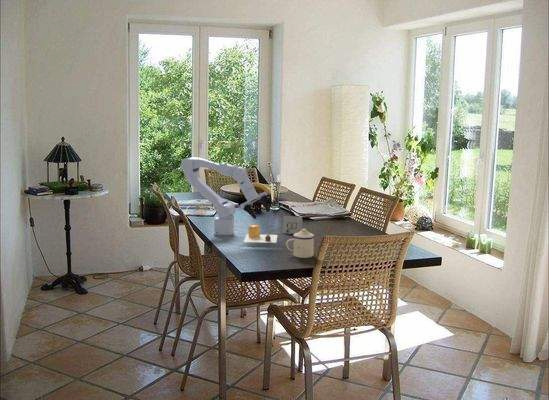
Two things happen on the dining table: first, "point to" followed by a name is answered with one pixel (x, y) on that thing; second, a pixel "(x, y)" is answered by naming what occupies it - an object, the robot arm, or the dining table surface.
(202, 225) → the dining table surface
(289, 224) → the electrical switch
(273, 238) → the cover plate
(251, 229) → the orange cube
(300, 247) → the teacup with lid
